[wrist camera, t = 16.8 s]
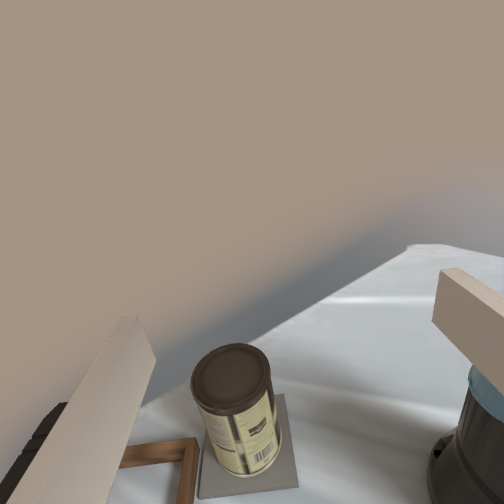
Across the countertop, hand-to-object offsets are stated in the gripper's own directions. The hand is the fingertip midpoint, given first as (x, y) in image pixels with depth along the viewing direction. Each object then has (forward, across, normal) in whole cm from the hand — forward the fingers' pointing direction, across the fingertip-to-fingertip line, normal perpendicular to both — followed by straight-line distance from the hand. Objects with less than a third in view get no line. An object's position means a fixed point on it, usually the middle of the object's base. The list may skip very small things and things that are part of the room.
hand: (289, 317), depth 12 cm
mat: (+16, -7, -35) cm, 39 cm away
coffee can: (+16, -7, -35) cm, 39 cm away
